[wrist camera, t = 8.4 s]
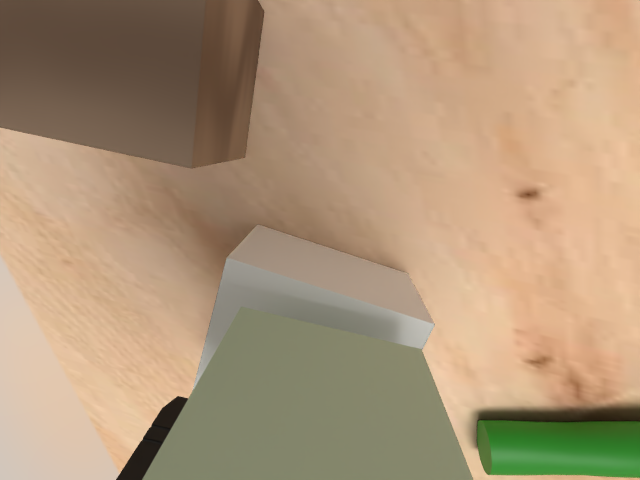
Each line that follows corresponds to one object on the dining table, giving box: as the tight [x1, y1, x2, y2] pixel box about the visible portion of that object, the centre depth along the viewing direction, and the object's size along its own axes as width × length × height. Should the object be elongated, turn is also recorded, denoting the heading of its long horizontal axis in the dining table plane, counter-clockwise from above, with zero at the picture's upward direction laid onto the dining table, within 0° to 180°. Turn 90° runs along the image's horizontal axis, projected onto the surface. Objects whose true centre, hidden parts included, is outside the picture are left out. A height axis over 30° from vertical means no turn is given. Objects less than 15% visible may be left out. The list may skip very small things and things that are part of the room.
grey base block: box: [192, 224, 435, 392], centre depth 15 cm, size 8×8×5 cm
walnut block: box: [0, 0, 264, 168], centre depth 12 cm, size 6×6×6 cm
